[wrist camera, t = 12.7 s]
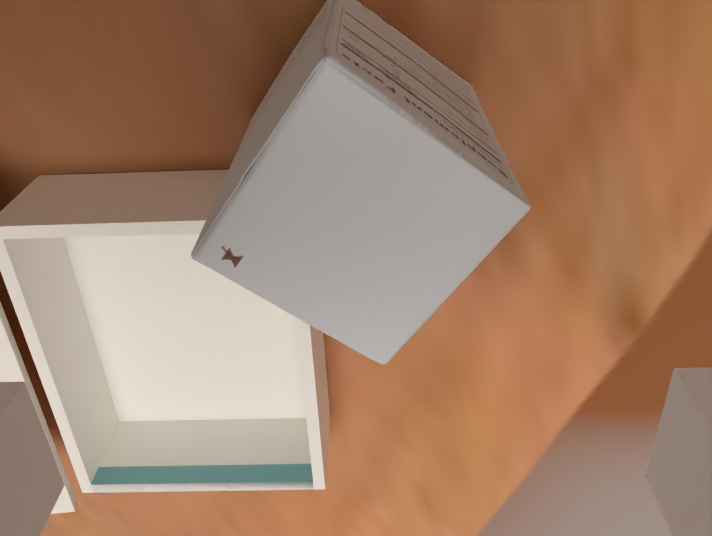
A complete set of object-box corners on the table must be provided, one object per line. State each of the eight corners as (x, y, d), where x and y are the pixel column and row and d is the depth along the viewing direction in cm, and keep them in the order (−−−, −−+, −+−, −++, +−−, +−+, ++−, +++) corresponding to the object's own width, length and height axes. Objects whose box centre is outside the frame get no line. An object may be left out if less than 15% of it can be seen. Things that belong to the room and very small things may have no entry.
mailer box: (38, 175, 32) (-16, 226, 27) (309, 166, 31) (299, 217, 27) (115, 422, 40) (82, 492, 36) (330, 418, 40) (325, 489, 35)
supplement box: (377, 206, 32) (380, 376, 22) (246, 119, 30) (178, 259, 20) (477, 84, 29) (540, 211, 18) (339, -24, 27) (320, 51, 16)
